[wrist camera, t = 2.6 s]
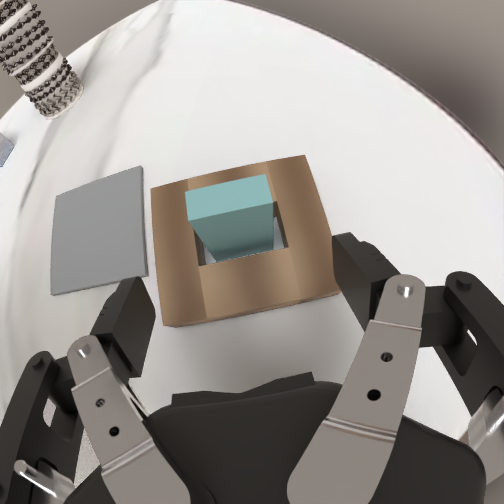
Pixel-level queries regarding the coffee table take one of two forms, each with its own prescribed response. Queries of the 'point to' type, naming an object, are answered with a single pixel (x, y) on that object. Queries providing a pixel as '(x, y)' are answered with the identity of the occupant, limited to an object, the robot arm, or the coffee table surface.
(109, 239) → the mat
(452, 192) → the coffee table surface
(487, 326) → the robot arm
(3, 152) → the medicine box
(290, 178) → the holder
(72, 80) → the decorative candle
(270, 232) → the teal rectangular block
